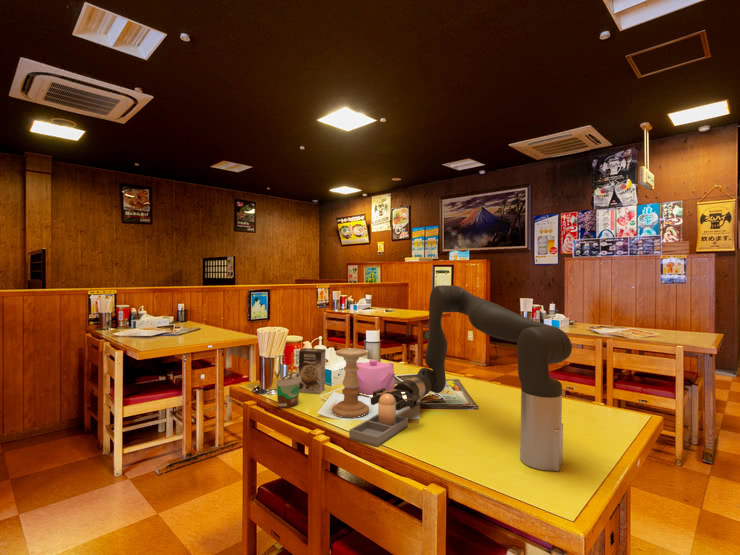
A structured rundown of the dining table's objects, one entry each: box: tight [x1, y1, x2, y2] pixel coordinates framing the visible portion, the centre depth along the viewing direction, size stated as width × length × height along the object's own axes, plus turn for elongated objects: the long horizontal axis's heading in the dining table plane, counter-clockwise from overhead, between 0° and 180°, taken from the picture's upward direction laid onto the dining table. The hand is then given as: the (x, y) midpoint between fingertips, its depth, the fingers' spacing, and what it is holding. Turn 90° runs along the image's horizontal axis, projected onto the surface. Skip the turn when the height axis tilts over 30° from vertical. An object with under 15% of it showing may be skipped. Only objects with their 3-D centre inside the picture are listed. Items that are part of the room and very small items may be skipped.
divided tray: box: [348, 413, 409, 448], centre depth 115 cm, size 9×17×2 cm, turn 147°
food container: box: [275, 371, 302, 409], centre depth 138 cm, size 12×6×10 cm, turn 168°
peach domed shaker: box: [377, 393, 397, 426], centre depth 118 cm, size 5×5×10 cm
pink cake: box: [356, 358, 396, 395], centre depth 155 cm, size 17×17×12 cm
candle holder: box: [331, 347, 370, 418], centre depth 131 cm, size 12×12×20 cm
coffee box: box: [298, 347, 327, 395], centre depth 154 cm, size 9×6×16 cm
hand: (384, 404), depth 116 cm, fingers open, 8 cm apart
